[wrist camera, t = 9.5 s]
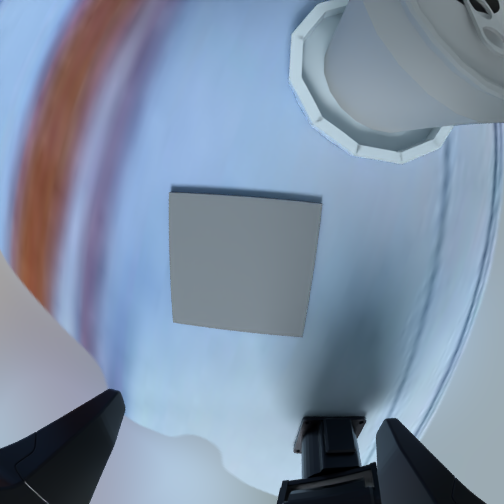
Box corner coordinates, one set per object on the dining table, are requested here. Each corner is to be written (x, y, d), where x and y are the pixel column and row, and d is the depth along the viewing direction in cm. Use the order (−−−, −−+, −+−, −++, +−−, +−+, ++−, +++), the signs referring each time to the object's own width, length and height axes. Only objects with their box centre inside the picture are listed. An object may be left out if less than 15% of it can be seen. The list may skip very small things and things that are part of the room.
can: (418, 35, 13) (520, -37, 2) (435, 135, 16) (572, 139, 4) (313, 26, 14) (343, -98, 3) (329, 134, 17) (408, 105, 5)
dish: (442, 173, 17) (455, 176, 15) (283, 147, 18) (284, 147, 16) (443, 31, 13) (454, 24, 12) (292, -4, 14) (293, -16, 12)
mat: (302, 334, 22) (302, 337, 22) (174, 319, 23) (173, 322, 22) (321, 203, 19) (322, 204, 18) (171, 191, 19) (169, 192, 19)
